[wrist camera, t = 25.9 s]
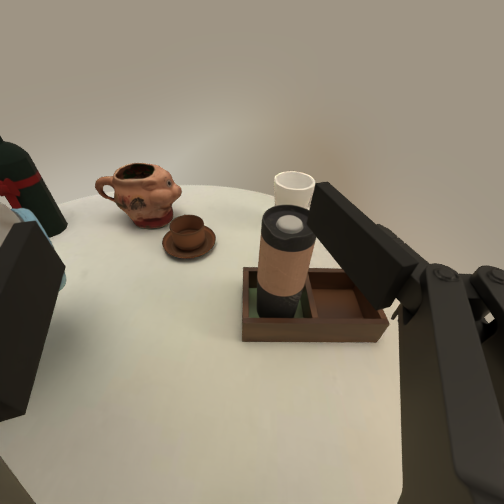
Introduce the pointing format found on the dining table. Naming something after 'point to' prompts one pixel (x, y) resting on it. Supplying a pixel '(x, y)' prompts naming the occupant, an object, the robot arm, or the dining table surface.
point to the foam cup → (293, 188)
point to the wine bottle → (28, 188)
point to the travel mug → (283, 260)
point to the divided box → (315, 312)
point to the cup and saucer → (188, 237)
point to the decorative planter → (143, 193)
